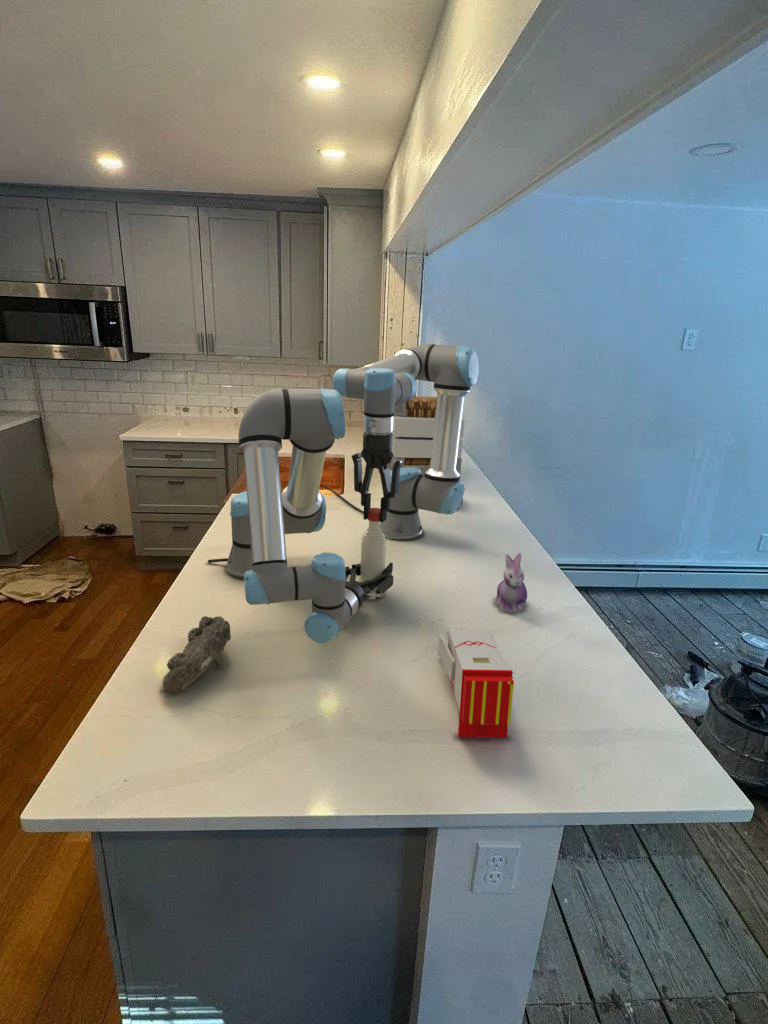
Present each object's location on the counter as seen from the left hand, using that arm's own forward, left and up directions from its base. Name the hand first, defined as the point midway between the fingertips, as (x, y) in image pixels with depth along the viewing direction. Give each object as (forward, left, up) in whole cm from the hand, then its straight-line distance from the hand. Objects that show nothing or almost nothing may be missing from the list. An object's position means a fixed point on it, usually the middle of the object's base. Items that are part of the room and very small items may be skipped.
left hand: (379, 564), depth 160 cm
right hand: (0, -5, +15) cm, 16 cm away
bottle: (0, -5, -7) cm, 8 cm away
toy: (+35, -36, -7) cm, 51 cm away
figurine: (+37, +5, -7) cm, 38 cm away
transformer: (-24, +119, -7) cm, 122 cm away
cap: (0, -5, +17) cm, 18 cm away
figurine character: (+2, +80, -7) cm, 80 cm away
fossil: (-21, -51, -7) cm, 56 cm away
